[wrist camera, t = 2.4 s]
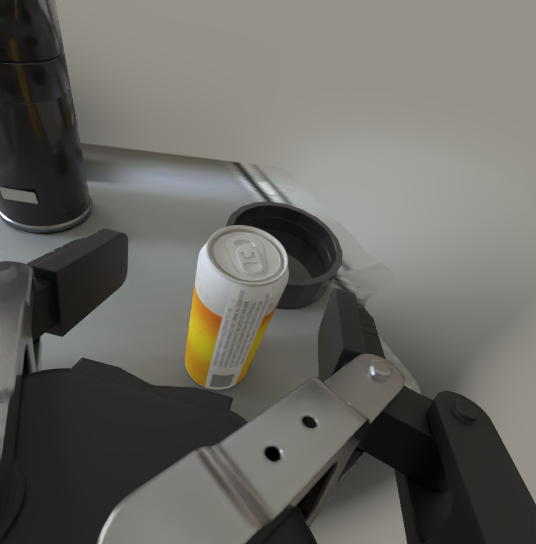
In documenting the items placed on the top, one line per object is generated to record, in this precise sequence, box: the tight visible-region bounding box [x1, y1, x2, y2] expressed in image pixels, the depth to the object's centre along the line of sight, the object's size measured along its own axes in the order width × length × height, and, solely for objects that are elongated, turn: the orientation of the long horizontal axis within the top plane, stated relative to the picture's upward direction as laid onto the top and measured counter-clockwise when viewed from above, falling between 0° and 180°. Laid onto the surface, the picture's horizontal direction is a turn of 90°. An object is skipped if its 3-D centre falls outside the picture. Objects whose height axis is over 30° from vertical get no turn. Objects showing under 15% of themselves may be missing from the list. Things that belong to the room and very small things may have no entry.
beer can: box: [185, 225, 289, 390], centre depth 26 cm, size 6×6×15 cm
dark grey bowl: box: [226, 202, 342, 309], centre depth 41 cm, size 15×15×4 cm
